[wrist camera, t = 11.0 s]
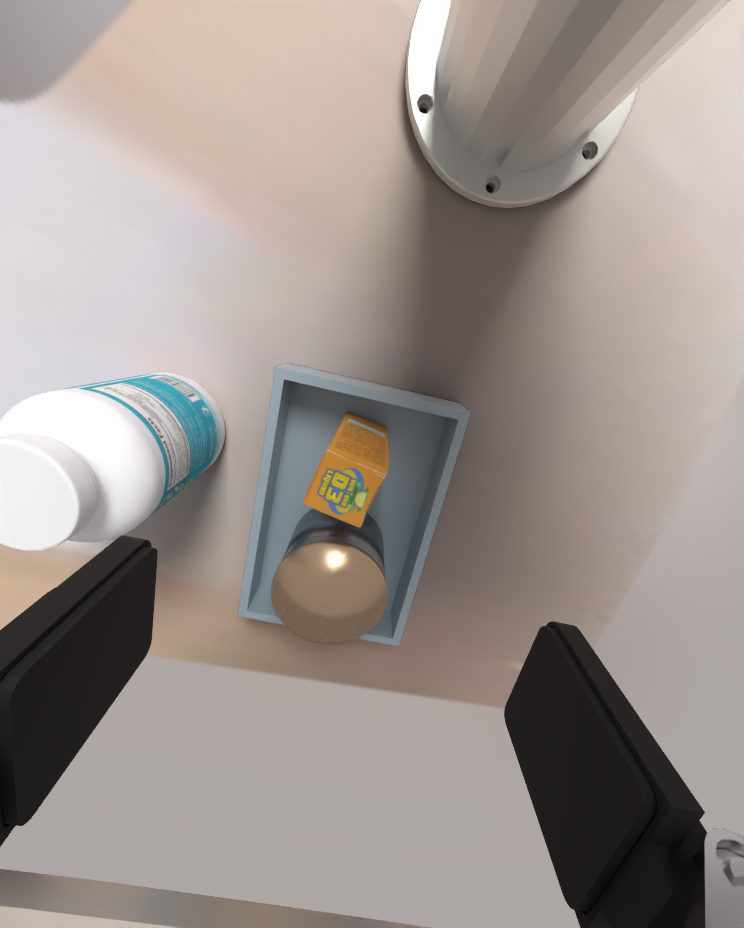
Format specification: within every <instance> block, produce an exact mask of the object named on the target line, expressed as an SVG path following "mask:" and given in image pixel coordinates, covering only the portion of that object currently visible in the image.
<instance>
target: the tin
mask: <svg viewBox="0 0 744 928" xmlns="http://www.w3.org/2000/svg"><path fill="white" fill-rule="evenodd" d="M387 597H388V592H387V582H386V579H385V565H384V545H383V537H382V533H381V530H380V528H379V526H378V524H377V523H376V521H375V520H374V519H373V518H372V517H371V516H370V515H369V514H368V513H367V514H366V516H365V518H364V521H363V524H362V526H361V527H356V526H354V525H351V524H349V523H346V522H344V521H342V520H339V519H337V518H334V517H332V516H329V515H327V514H325V513H322V512H320V511H318V510H315V509H311V510H310V511H309V512H307V513H306V514H305V515H304V516H303V517H302V518H301V519H300V520H299V522H298V523H297V525H296V527H295V530H294V532H293V534H292V537H291V539H290V542H289V544H288V547H287V549H286V552H285V554H284V557H283V559H282V561H281V563H280V564H279V566H278V567H277V570H276V572H275V574H274V577H273V580H272V584H271V600H272V605H273V607H274V610H275V612H276V614H277V616H278V617H279V619H280V620H281V621H282V623H283V624H284V625H285V626H286V627H287V628H289V629H290V630H291V631H292V632H294V633H295V634H297V635H299V636H301V637H303V638H305V639H308V640H311V641H314V642H318V643H327V644H335V643H343V642H348V641H351V640H354V639H357V638H359V637H361V636H363V635H364V634H366V633H368V632H369V631H370V630H371V629H372V628H373V627H374V626H375V625H376V624H377V623H378V622H379V621H380V619H381V617H382V616H383V614H384V611H385V609H386V605H387Z"/></svg>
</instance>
